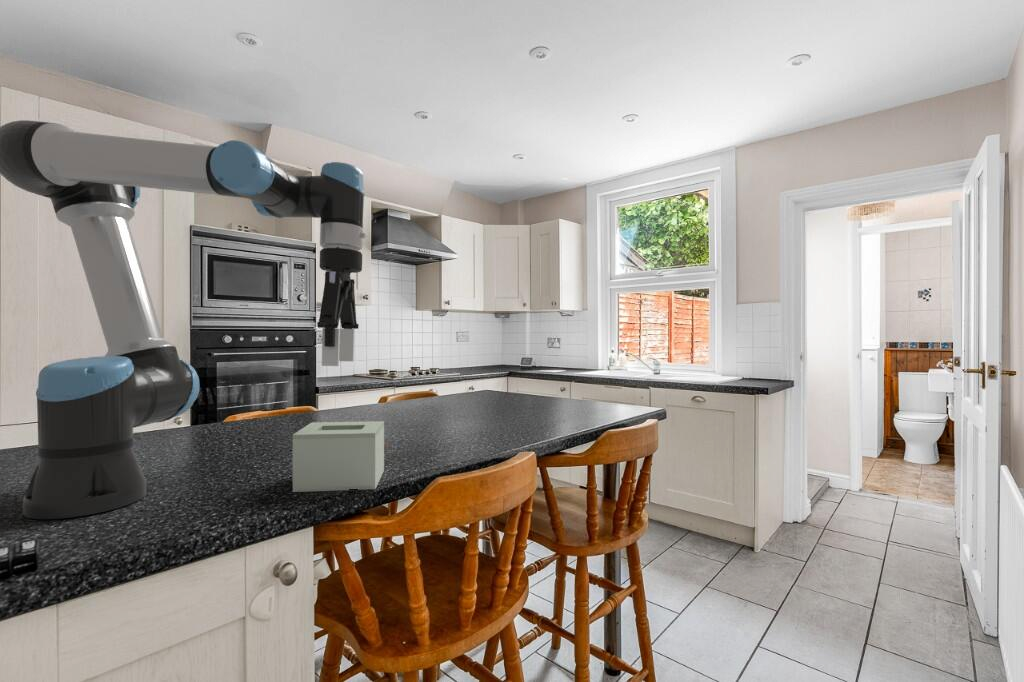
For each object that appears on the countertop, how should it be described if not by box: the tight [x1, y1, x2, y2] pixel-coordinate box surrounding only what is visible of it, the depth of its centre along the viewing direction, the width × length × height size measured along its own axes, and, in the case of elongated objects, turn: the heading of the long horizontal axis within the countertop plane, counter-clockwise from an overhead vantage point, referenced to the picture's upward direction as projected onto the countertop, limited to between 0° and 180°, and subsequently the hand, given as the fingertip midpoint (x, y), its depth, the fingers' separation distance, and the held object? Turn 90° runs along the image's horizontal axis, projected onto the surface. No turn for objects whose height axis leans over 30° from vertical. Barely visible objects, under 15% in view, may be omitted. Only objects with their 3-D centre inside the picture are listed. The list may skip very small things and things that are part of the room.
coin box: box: [292, 420, 385, 493], centre depth 93 cm, size 14×12×10 cm
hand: (339, 363), depth 92 cm, fingers open, 13 cm apart
